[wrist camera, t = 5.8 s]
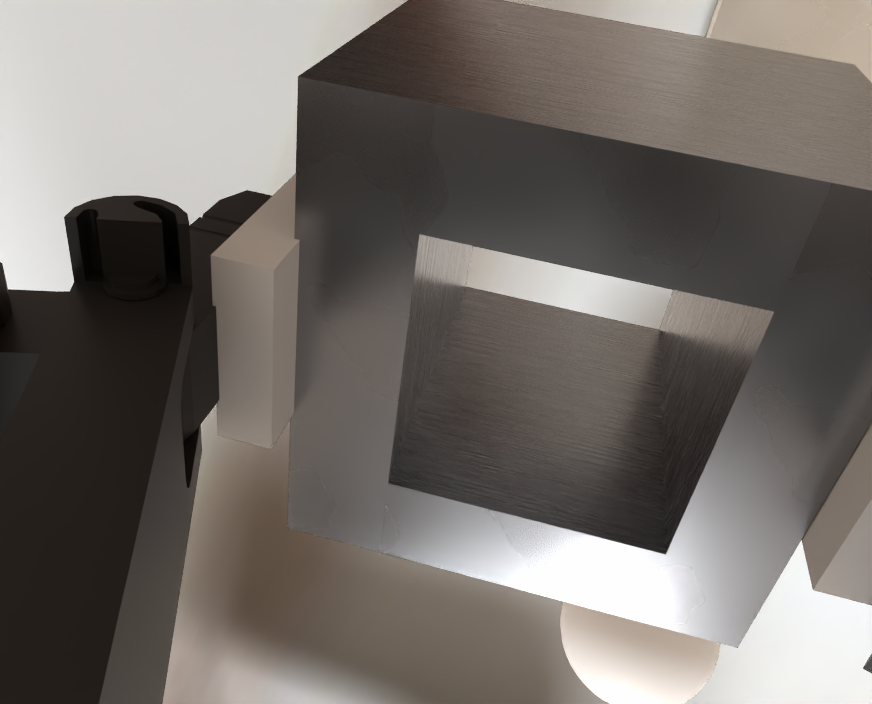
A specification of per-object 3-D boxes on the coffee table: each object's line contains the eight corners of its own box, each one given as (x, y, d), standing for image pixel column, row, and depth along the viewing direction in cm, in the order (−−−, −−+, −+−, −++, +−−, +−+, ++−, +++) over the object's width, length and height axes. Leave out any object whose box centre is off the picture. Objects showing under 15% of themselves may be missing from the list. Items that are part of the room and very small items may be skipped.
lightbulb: (607, 422, 35) (595, 619, 26) (732, 472, 35) (762, 686, 26) (555, 507, 39) (528, 707, 30) (667, 553, 39) (675, 766, 30)
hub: (710, 404, 16) (737, 647, 11) (389, 330, 17) (287, 527, 12) (854, 64, 12) (993, 214, 7) (427, -14, 13) (298, 75, 8)
